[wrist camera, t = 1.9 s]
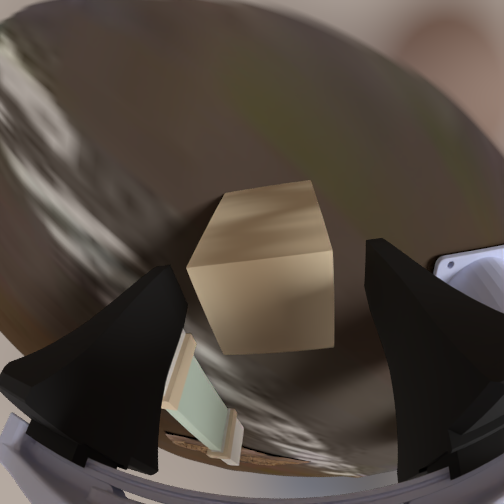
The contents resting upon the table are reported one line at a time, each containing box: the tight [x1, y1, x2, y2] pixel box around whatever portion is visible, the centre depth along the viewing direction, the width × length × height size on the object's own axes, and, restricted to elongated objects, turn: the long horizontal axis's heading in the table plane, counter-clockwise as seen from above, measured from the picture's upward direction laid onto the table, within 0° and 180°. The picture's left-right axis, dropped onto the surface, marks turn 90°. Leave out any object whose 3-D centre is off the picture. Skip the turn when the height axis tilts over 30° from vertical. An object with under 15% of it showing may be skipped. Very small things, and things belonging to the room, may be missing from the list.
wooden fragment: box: [165, 432, 311, 466], centre depth 35 cm, size 26×11×1 cm, turn 63°
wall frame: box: [161, 329, 244, 466], centre depth 20 cm, size 2×21×6 cm, turn 12°
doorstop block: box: [186, 180, 334, 355], centre depth 11 cm, size 4×4×6 cm
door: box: [166, 355, 228, 451], centre depth 20 cm, size 2×10×5 cm, turn 12°
